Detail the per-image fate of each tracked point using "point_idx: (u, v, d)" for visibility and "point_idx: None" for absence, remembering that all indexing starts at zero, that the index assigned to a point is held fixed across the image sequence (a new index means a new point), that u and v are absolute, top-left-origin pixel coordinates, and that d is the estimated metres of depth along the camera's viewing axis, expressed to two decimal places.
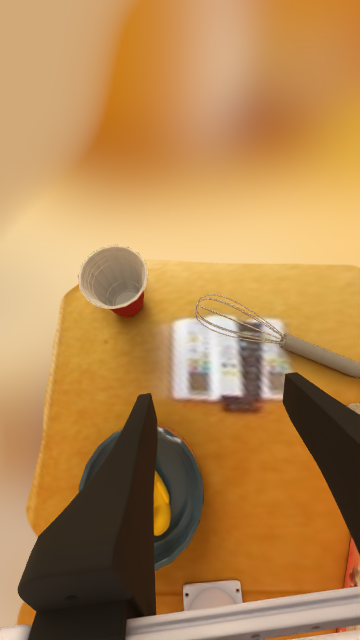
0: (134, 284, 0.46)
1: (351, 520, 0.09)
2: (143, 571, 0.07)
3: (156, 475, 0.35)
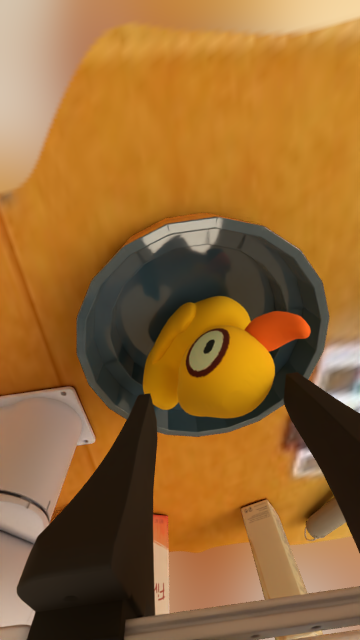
0: None
1: (352, 520, 0.09)
2: (142, 571, 0.07)
3: None
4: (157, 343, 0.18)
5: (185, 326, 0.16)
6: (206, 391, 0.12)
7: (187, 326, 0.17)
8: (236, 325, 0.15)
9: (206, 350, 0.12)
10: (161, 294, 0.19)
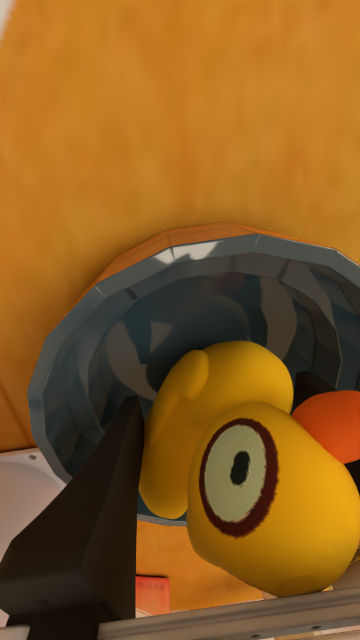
0: None
1: None
2: (120, 574, 0.07)
3: None
4: (154, 411, 0.12)
5: (194, 393, 0.11)
6: (242, 568, 0.06)
7: (196, 392, 0.11)
8: (274, 396, 0.10)
9: (235, 477, 0.07)
10: (161, 334, 0.14)
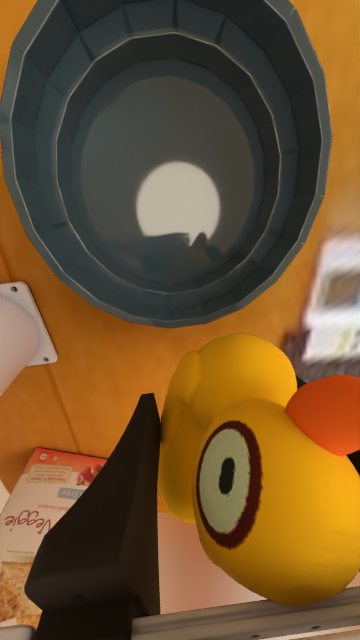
0: None
1: None
2: (148, 570, 0.07)
3: None
4: (163, 419, 0.13)
5: (192, 398, 0.11)
6: (242, 579, 0.06)
7: (194, 396, 0.11)
8: (270, 389, 0.09)
9: (223, 486, 0.07)
10: (125, 144, 0.16)
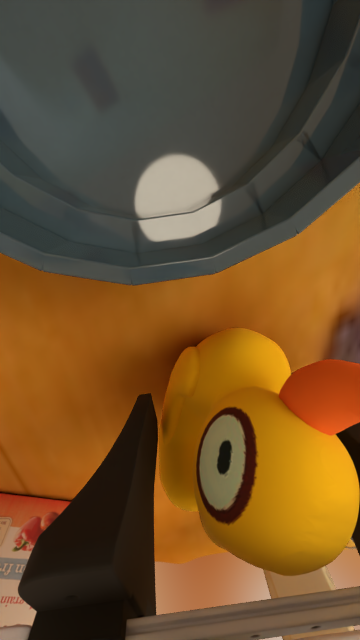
0: None
1: None
2: (143, 571, 0.07)
3: None
4: (164, 413, 0.13)
5: (191, 390, 0.11)
6: (240, 552, 0.06)
7: (193, 388, 0.11)
8: (264, 378, 0.10)
9: (221, 467, 0.07)
10: None
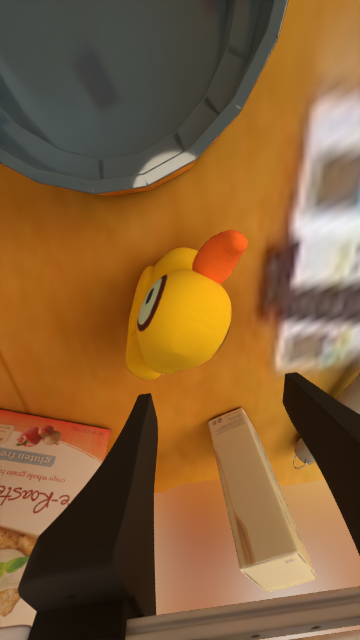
0: None
1: (351, 520, 0.09)
2: (143, 571, 0.07)
3: None
4: (129, 317, 0.17)
5: (145, 290, 0.16)
6: (154, 341, 0.11)
7: (147, 290, 0.16)
8: None
9: (147, 301, 0.11)
10: None
